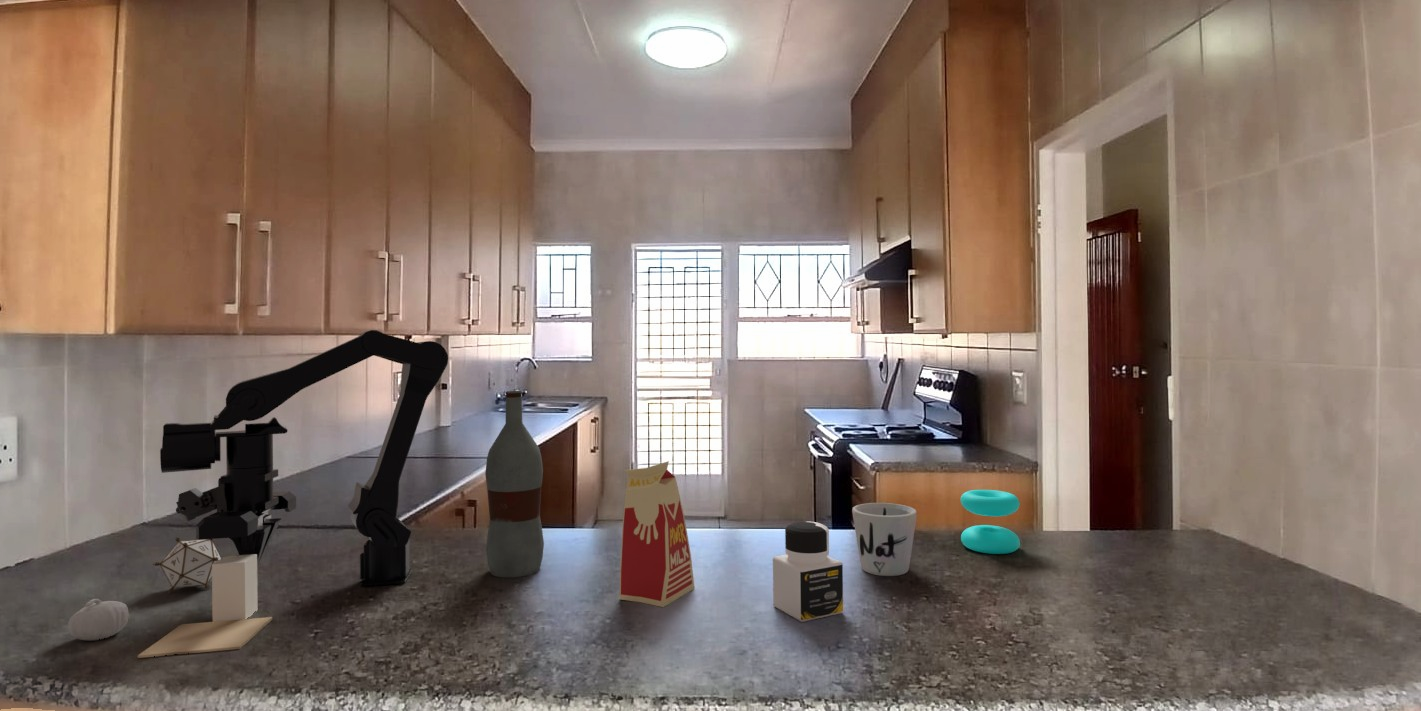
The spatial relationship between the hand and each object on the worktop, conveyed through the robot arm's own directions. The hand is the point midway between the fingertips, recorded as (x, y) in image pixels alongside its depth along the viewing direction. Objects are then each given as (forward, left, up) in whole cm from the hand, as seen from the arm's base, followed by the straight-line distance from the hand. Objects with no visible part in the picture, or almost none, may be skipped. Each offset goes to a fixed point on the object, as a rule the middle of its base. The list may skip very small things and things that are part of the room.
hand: (251, 572), depth 102 cm
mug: (-98, +6, -5) cm, 98 cm away
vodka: (-37, -7, -5) cm, 38 cm away
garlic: (+14, +9, -5) cm, 17 cm away
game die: (+12, -10, -5) cm, 16 cm away
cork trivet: (0, +13, -4) cm, 14 cm away
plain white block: (0, +5, -5) cm, 7 cm away
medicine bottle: (-78, +22, -5) cm, 81 cm away
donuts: (-121, +1, -5) cm, 121 cm away
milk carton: (-58, +10, -5) cm, 59 cm away
